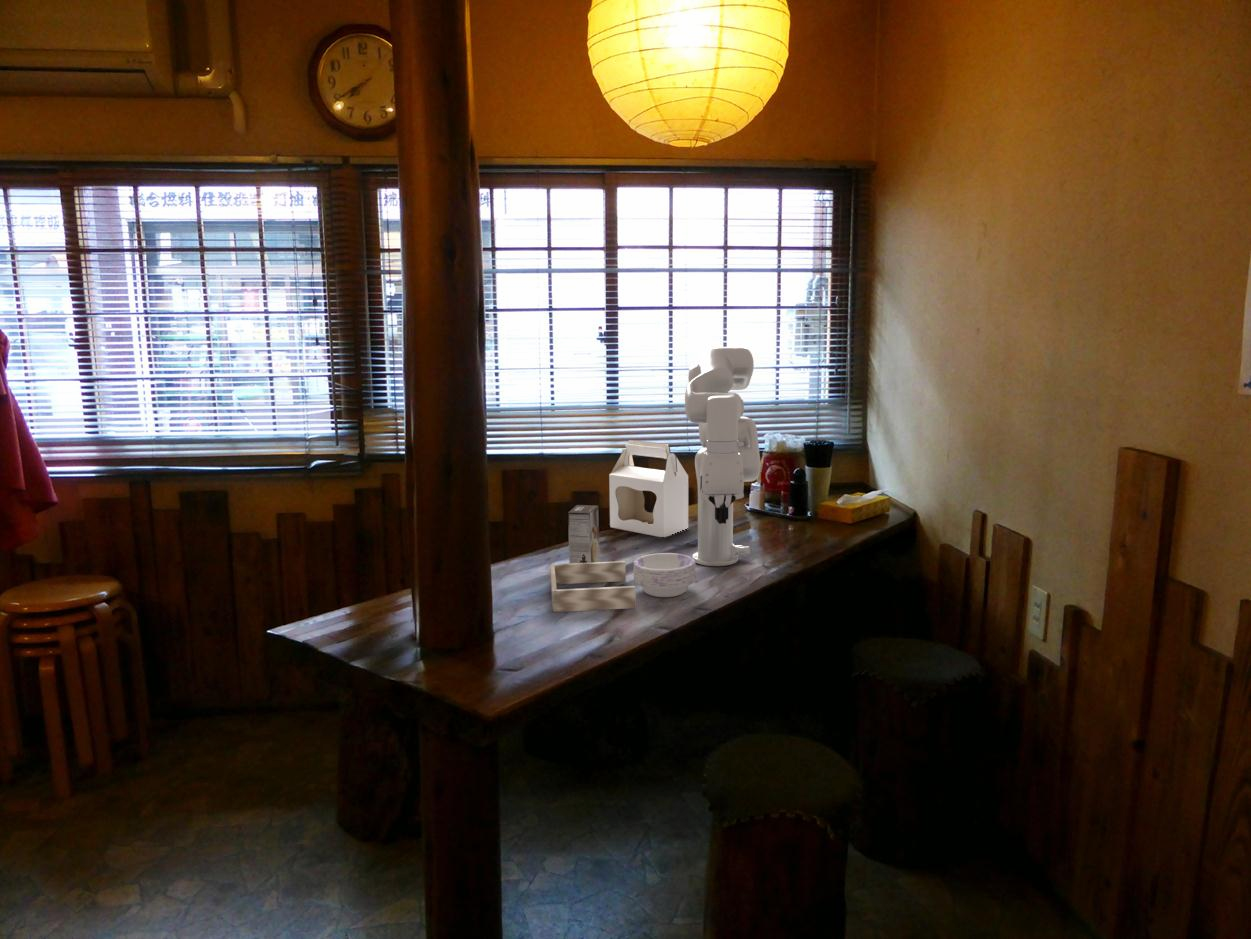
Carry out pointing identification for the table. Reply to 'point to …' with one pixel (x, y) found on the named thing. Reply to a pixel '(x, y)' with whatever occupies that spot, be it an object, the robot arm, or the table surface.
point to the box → (590, 596)
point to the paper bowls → (664, 573)
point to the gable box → (635, 480)
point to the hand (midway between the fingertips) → (721, 522)
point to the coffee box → (583, 534)
